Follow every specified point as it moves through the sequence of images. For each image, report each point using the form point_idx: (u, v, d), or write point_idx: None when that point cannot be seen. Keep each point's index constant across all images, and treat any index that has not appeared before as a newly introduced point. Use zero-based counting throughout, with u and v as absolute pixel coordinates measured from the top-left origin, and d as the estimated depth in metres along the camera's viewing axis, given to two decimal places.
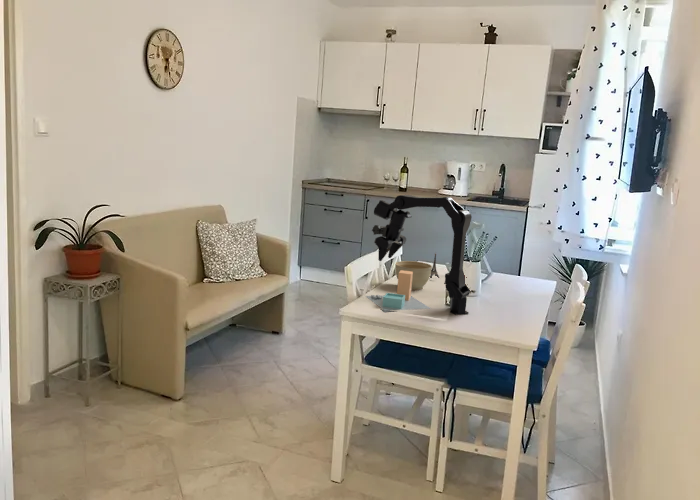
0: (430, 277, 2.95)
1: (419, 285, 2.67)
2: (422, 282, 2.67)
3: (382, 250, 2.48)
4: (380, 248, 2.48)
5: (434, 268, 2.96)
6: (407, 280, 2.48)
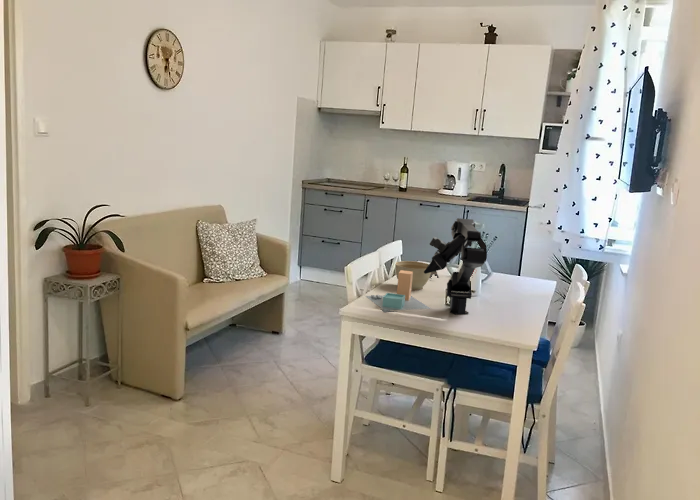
0: (430, 277, 2.95)
1: (419, 285, 2.67)
2: (422, 282, 2.67)
3: (433, 266, 2.41)
4: (433, 263, 2.41)
5: None
6: (407, 280, 2.48)
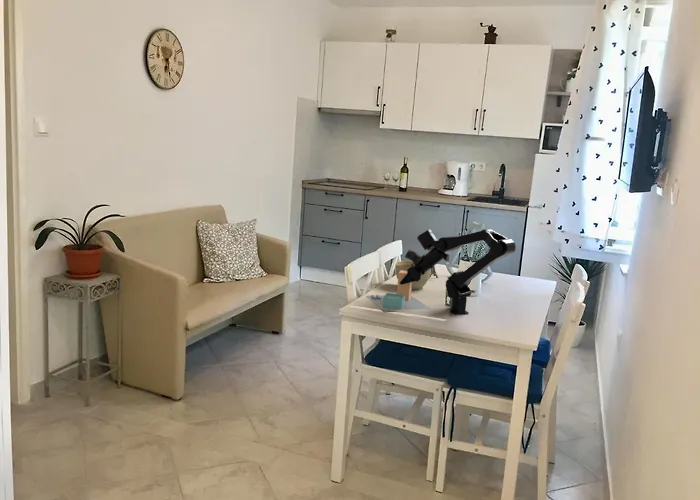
0: (429, 277, 2.95)
1: (419, 285, 2.67)
2: (422, 282, 2.67)
3: (409, 277, 2.46)
4: (408, 275, 2.46)
5: (433, 268, 2.96)
6: None
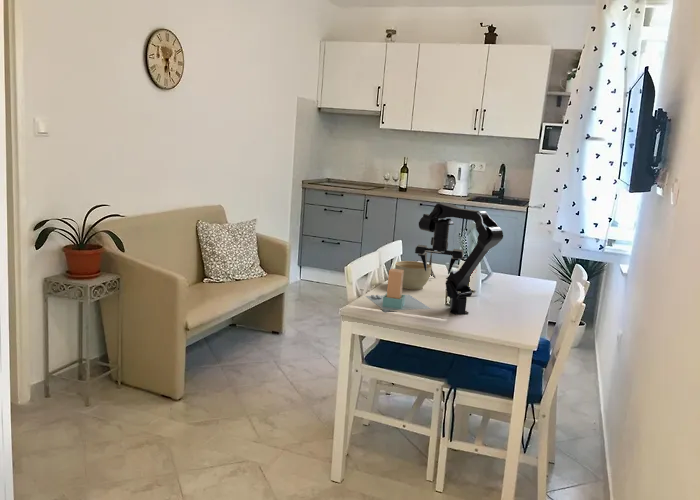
0: None
1: (419, 285, 2.67)
2: (422, 282, 2.67)
3: None
4: None
5: None
6: (397, 279, 2.36)
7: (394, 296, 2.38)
